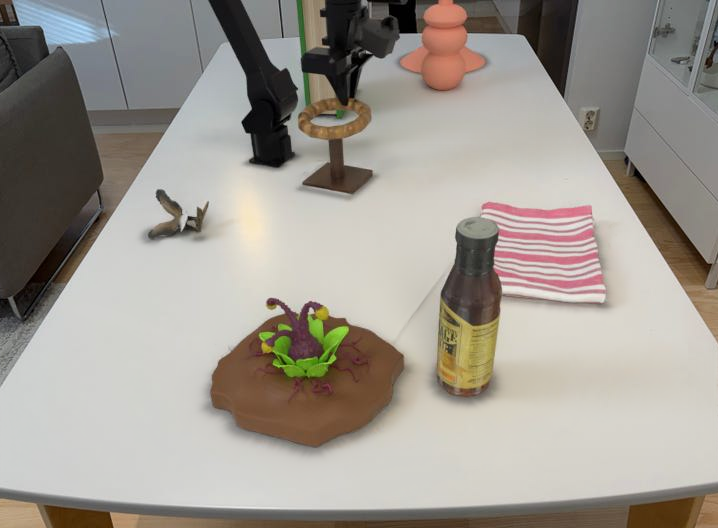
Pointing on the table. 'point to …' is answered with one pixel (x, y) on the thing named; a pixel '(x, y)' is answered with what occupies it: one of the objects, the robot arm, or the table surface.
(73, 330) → the table surface
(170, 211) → the eagle figurine
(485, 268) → the sauce bottle
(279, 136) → the robot arm
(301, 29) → the hardback book
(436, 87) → the ceramic vessels
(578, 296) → the dish towel
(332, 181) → the peg stand
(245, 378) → the plant
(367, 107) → the segmented tan ring
